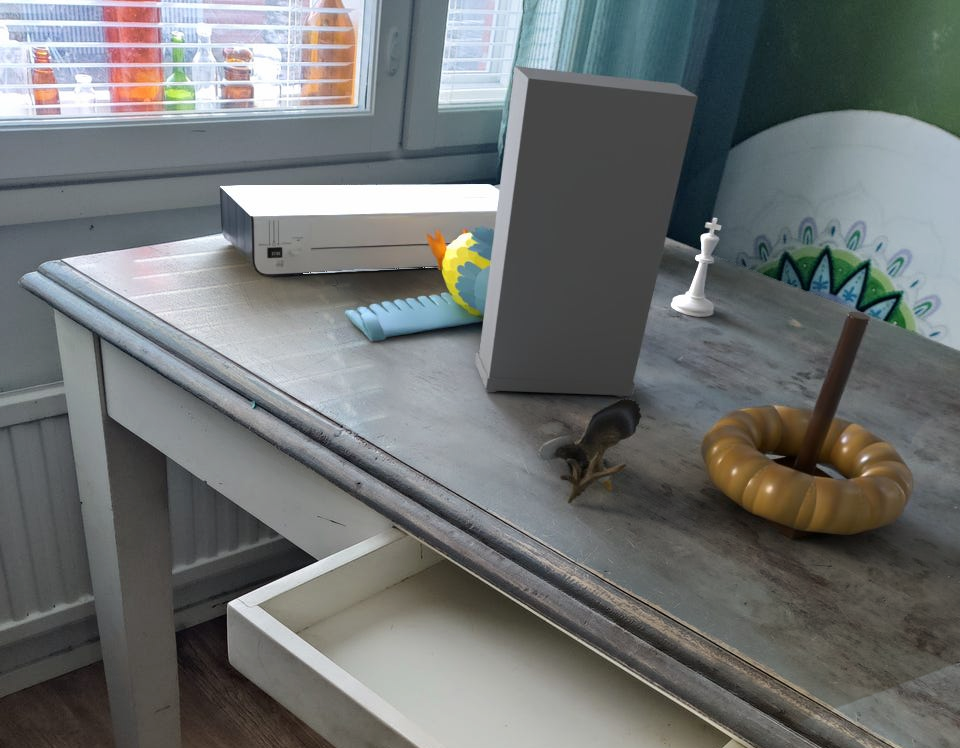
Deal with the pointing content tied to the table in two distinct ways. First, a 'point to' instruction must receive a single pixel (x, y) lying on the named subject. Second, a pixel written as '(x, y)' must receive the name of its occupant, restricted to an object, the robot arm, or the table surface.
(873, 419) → the table surface
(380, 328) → the blue yellow toy
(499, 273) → the gray rectangular block
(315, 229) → the laminator
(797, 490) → the bread ring
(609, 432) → the eagle figurine
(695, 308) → the chess piece
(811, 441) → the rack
